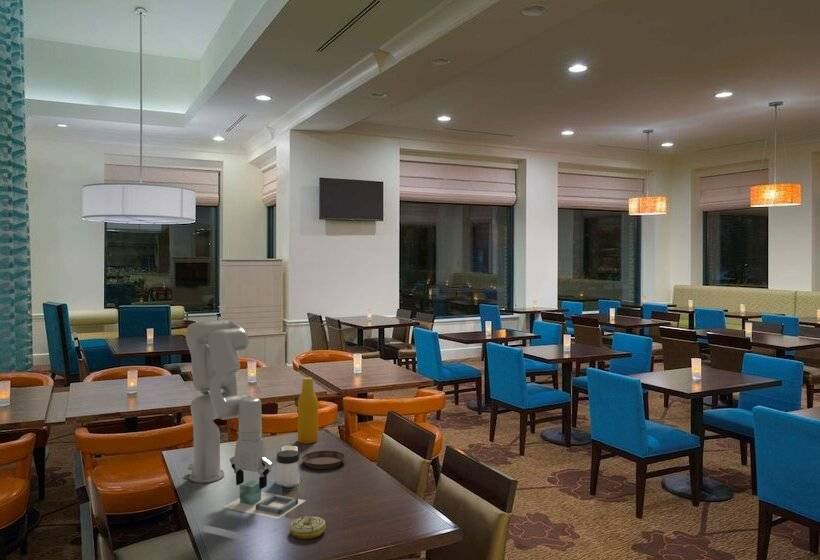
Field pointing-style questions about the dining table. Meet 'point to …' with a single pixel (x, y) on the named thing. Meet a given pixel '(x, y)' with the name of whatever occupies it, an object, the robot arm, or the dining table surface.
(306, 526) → the decorated donut
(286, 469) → the jar
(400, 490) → the dining table surface
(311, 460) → the plant saucer
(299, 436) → the beer bottle
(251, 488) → the teal block
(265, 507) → the board
